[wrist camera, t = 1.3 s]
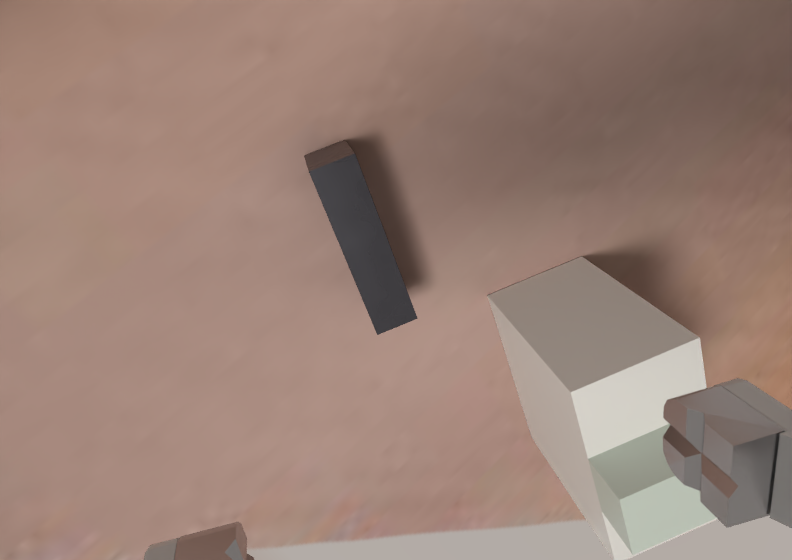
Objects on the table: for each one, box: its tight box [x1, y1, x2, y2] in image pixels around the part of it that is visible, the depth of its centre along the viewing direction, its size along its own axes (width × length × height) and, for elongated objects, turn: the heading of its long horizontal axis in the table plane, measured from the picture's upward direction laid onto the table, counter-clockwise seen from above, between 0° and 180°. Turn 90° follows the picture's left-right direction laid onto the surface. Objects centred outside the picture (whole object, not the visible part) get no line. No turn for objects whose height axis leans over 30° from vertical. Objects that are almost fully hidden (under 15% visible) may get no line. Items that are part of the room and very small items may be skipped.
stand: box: [487, 256, 718, 560], centre depth 35 cm, size 13×7×15 cm, turn 19°
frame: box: [304, 140, 417, 335], centre depth 34 cm, size 10×2×4 cm, turn 19°
